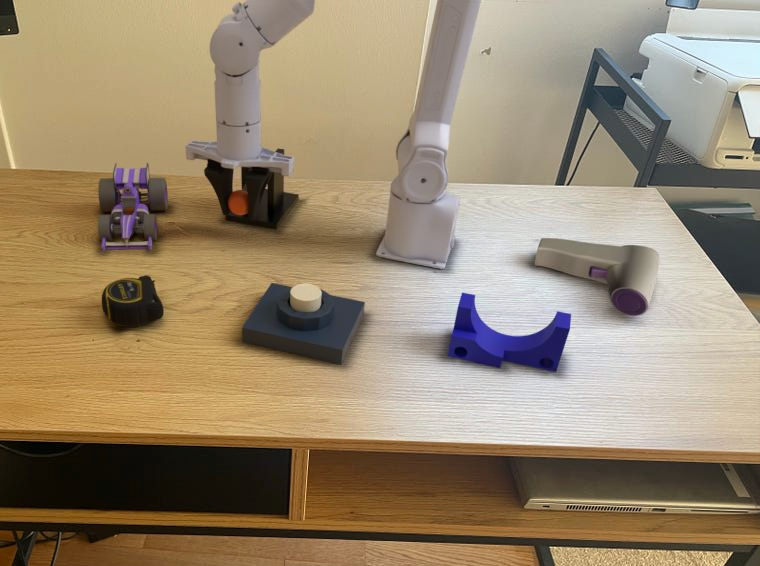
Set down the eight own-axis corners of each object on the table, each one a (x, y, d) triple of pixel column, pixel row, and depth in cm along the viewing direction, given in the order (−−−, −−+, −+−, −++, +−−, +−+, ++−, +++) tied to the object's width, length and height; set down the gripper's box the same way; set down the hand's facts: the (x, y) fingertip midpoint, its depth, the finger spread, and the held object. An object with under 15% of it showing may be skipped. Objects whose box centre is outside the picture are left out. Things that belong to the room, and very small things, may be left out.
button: (324, 299, 87) (325, 286, 86) (315, 315, 84) (316, 303, 83) (295, 293, 88) (296, 280, 87) (285, 309, 85) (286, 296, 84)
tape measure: (166, 327, 88) (163, 301, 86) (108, 336, 86) (103, 310, 84) (156, 296, 93) (153, 270, 91) (101, 304, 91) (96, 279, 89)
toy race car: (91, 253, 101) (84, 210, 97) (105, 202, 112) (99, 161, 108) (162, 252, 101) (157, 209, 97) (168, 201, 113) (165, 161, 109)
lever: (248, 222, 101) (246, 202, 98) (225, 217, 102) (222, 197, 99) (277, 170, 108) (276, 150, 105) (256, 166, 109) (254, 146, 106)
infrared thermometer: (538, 257, 104) (654, 277, 99) (521, 301, 95) (647, 325, 90) (544, 227, 101) (663, 246, 96) (527, 270, 93) (657, 293, 87)
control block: (363, 316, 91) (366, 289, 88) (341, 365, 83) (343, 337, 81) (271, 297, 93) (271, 270, 91) (242, 342, 86) (241, 314, 84)
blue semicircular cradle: (447, 356, 85) (455, 313, 81) (453, 334, 88) (462, 292, 84) (555, 380, 82) (569, 337, 78) (557, 356, 85) (571, 313, 81)
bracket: (276, 231, 106) (277, 171, 101) (225, 221, 108) (223, 161, 102) (298, 201, 114) (300, 143, 108) (250, 192, 116) (249, 135, 110)
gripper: (172, 121, 92) (180, 218, 101) (282, 138, 89) (280, 237, 98) (196, 102, 98) (201, 196, 106) (300, 117, 94) (297, 213, 103)
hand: (240, 214), depth 102 cm, fingers closed on lever, 3 cm apart
